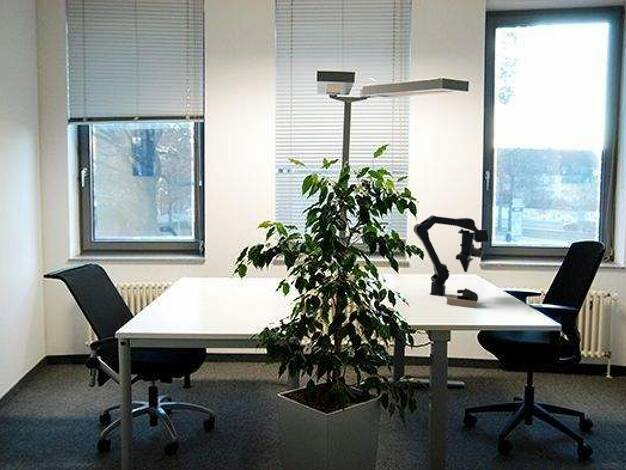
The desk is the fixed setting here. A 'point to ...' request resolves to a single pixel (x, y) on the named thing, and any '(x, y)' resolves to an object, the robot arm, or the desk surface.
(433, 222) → the robot arm
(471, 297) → the end cap
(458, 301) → the mat
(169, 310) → the desk surface
